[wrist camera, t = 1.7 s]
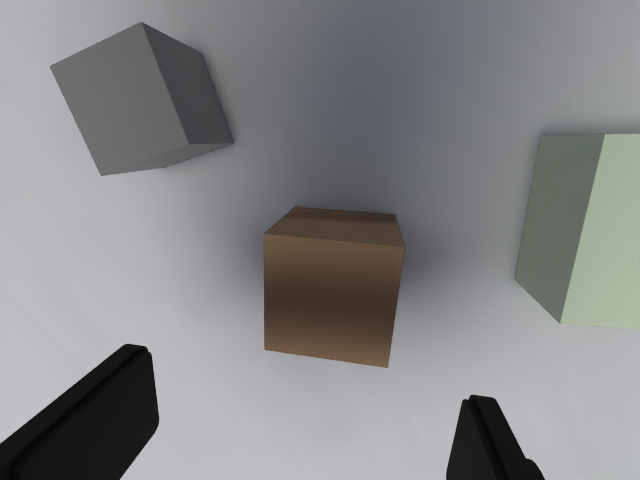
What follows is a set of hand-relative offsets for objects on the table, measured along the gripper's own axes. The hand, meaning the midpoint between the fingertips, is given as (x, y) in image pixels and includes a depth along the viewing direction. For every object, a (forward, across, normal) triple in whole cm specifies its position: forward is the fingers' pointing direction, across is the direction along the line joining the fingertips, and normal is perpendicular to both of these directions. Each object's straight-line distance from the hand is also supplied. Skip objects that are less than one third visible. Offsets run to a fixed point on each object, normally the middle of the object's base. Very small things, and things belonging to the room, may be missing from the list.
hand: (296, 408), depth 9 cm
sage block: (+11, -14, -5) cm, 19 cm away
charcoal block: (+11, +10, -9) cm, 17 cm away
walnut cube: (+11, 0, -1) cm, 11 cm away
